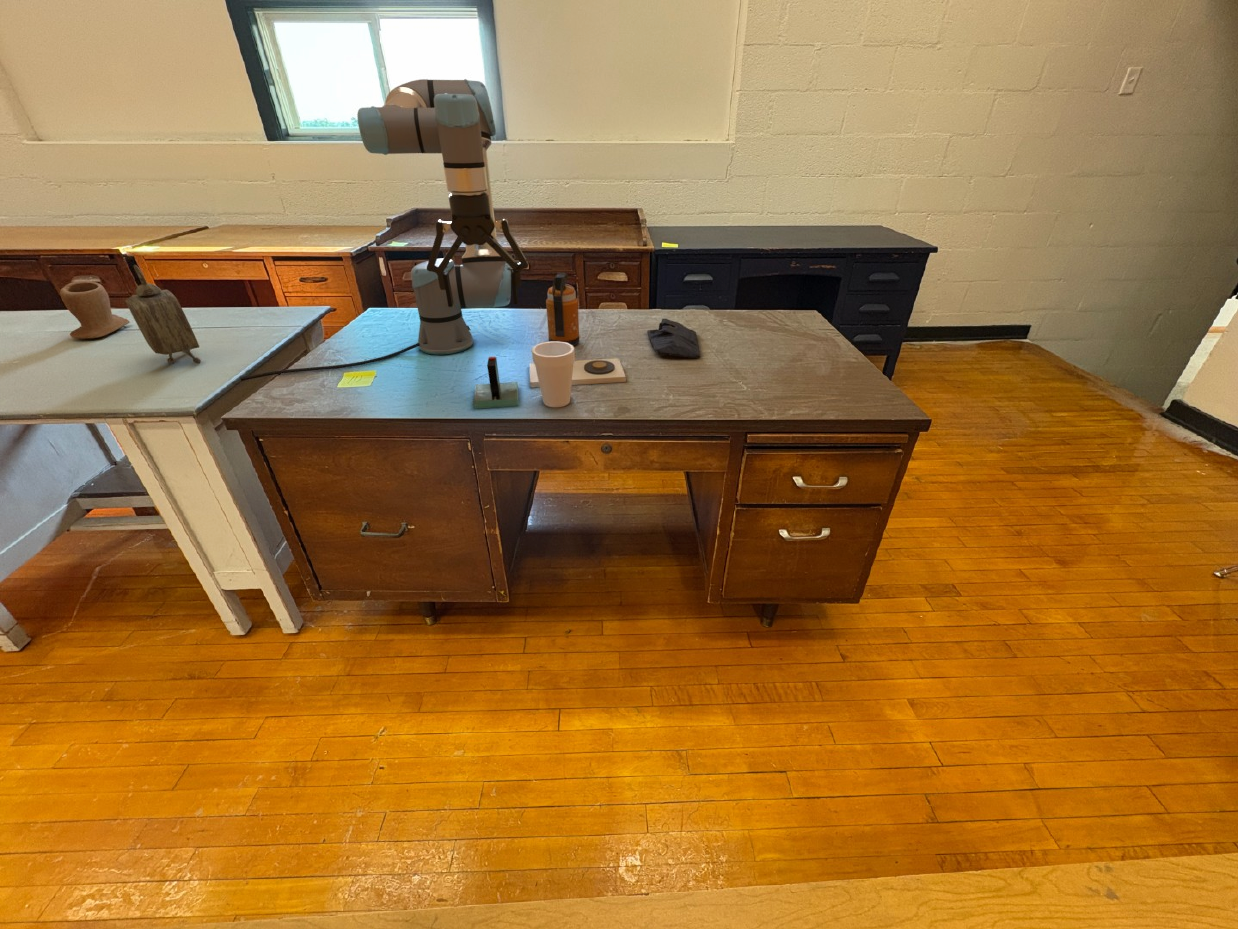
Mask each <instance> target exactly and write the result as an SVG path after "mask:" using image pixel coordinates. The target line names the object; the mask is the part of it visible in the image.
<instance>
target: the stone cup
mask: <svg viewBox="0 0 1238 929" xmlns="http://www.w3.org/2000/svg"><path fill="white" fill-rule="evenodd" d="M59 295H60V297H61V300H62V302H63V304H64V306H65V307H66V309H67V310H68V311H69V313H70V314H71V315H72V316H73V317H75V319H76V320H77V321H78V322H79V323H80V327H77V328H75V329H74V330H72V331H71V332H70V333H69V337H71V338H75V339H95V338H97V339H98V338H102V337H104V336H107V335H109V334H111V333H114V332H115V331H117V330H119V329H122V328H123V327H125V326H126V325H128V324H130V323H131V322H130V320H129V319H128V318H124V317H123V316H119V315H117V314H113V312H112V307H111V301H110V296H109V294H108V292H107V290H106V289H105V287H104V286H103V285H102V284H100V283H98V282H96V281H90V280H89V281H88V280H87V281H86V280H85V281H83V280H82V281H81V280H79V281H75V282H70V283H67V284H66V285H65V286H63V287H62V288H61V289H60V291H59ZM124 325H125V326H124Z"/></svg>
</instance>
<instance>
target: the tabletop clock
mask: <svg viewBox="0 0 1238 929" xmlns="http://www.w3.org/2000/svg"><path fill="white" fill-rule="evenodd" d="M133 270H134V272H135V273H136V275H137V277H138V279H139V282H140V284H139V285H138V286H136V289H135V294H132V295H131V296H129V297H128V298H126V300H125V304H126V306H127V308H128V310H129V312H130V313H131V316H132V317H133V319H134V321H135V323H136V325H137V327H138V329H139V331H140V333H141V334H142V336H143V338H144V340H145V342H146V344H147V345H148V346H149V347H150V349H151V350H152V351H153V352H154V353H155V354H156V355H157V354H158V355H164V356H168V358H167V359H166V360H167V362H168V363H169V364H175V363H176V359H175V358H174V357H173V354H177V353H184V354H186V355H187V356H189V357H190V358H192V362H193V363H194V364H200V363H201V362H202V361H201V358H199V357H197V356H196V357H195V355H193V354H192V353H191V350H194V349H198V348H200V344H199V342H198V339H197V338H196V335H195V333H194V331H193V328H192V326H191V324H190V322H189V320H188V318H187V316H186V313H185V312H184V309H183V308H182V306H181V304H180V302H179V300H178V299H177V297H176V296H175V295H174V294H173V293H172V292H171V291H170V290H168V289H161V288H160V287H158V286H157V285H156V284H154V283H148V282H147V280H146V278H145V276H144V274H143V271H142V270H141V268H140V267H139V265H137V264H134V265H133Z"/></svg>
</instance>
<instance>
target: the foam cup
mask: <svg viewBox="0 0 1238 929" xmlns="http://www.w3.org/2000/svg"><path fill="white" fill-rule="evenodd" d="M531 353H532V354H531V356H532V357H531V358H532V361H533V362H532V363H535V367H536V372H537V376H538V381H539V385H540V387H539V389H540V393H541V398H542V401H543V404H544V405H545V406H546V407H550V408H562V407H566V406H567V405H568V404H570V403H571V396H572V395H571V394H572V386H573V385H572V375H573V364H574V361H575V359H576V353H575V347H574V345H571V344H569V343H566V342H560V341H550V342H549V341H544V342H540V343H538V344H535V345H533V347H532V348H531Z"/></svg>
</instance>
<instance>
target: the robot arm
mask: <svg viewBox="0 0 1238 929" xmlns="http://www.w3.org/2000/svg"><path fill="white" fill-rule="evenodd" d="M488 93H489V92H488V90H487V87H486V85H485V83H483V82H481V81H479V80H468V79H466V78H465V79H428V78H427V79H426V78H425V79H423V78H422V79H415V80H410V81H408V82H406V83H402V84H400V85H397V86H396V87H394V88H393V89H391V90H390V91H389V92H388V94H387V95H386V97H385V103H384V105H382V106H380V107H379V106H373V105H372V106H370V107H369V106H367V107H360V108H359V109H358V110H357V114H356V115H357V116H356V117H357V124H358V130H359V133H360V138H361V141H362V144H363V146H364V148H365V149H366V151H367V152H368V153H370V154H378V155H385V156H386V155H397V154H398V155H399V154H402V155H403V154H404V155H405V154H441V155H442V164H443V171H444V172H443V173H444V178H445V183H446V190H447V191H448V192H450V194H448V204H449V209H450V215H451V221H444V220H442V219H438V220H437V222H436V223H435V231H436V232H435V233H436V234H435V238H434V241H433V245H432V248H431V251H430V254H429V257H428V260H427V261H423V262H421V263H418V264H416V265H415V266H413V267H412V269H411V271H410V277H411V287H412V289H413V294H414V297H415V303H416V307H417V313H418V316H419V321H420V322H419V328H418V338H417V343H415V344H412V345H410V346H407V347H405V348H403V349H401V350H398V351H396V352H392V353H390V354H386V355H384V356H380V357H375V358H372V359H367V360H361V361H356V362H351V363H344V364H334V365H325V366H311V367H303V368H289V369H280V370H279V369H278V370H272V371H266V372H260V373H256V374H251V375H246V376H241V377H239V379H240V381H241V382H242V381H243V382H244V381H248V380H253V379H259V378H262V377H263V378H264V377H268V376H274V375H282V374H290V373H291V374H292V373H301V372H302V373H303V372H314V371H325V370H336V369H337V370H338V369H344V368H345V369H346V368H351V367H359V366H363V365H368V364H372V363H377V362H380V361H384V360H387V359H390V358H394V357H396V356H398V355H401V354H404V353H406V352H408V351H410V350H413V349H415V348H417V347H418V349H419V350H420V351H421V352H422V353H425V354H428V355H433V356H434V355H435V356H444V355H452V354H458V353H462V352H463V351H467V350H468V349H470V348H471V347H472V346H473V345H474V340H473V335H472V333H471V332H472V331H471V328H470V326H469V325H467V323H466V321H465V318H464V316H463V312H462V310H467V309H468V310H470V309H471V310H472V309H485V308H487V309H488V308H493V309H494V308H497V307H498V308H499V307H506V306H508V305H509V304H510V303H511V296H512V299H513V304H514V305H519V299H518V290H517V288H521V287H522V277H521V276H522V275H521V271H523V270H524V269H528V267H529V261H528V259H527V258H526V256H525V254H524V252H523V250H522V249H521V248H520V245H519V244H518V242H517V240H516V239H515V237H514V235H513V234H512V232H511V230H510V226H509V221H508V218H506V217H505V218H502V219H500V220H496V219H495V213H494V202H493V193H492V187H491V186H492V185H491V178H490V168H489V160H488V159H489V158H488V149H489V148H490V147H491V145H492V137H495V136H496V134H497V130H496V129H497V128H496V124H495V120H494V115H493V109H492V105H491V101H490V96H489V94H488ZM449 229H451V231H452V232H453V233H454V234H455V235H456V238H455V240H454V242H452V245H451V246H450V248H449V249H448V251H447V253H446V254H445V256H444V257H443V258H438V257H439V253H440V250H441V246H442V243H443V239H444V236H445V234H447V233H448V231H449ZM497 229H498V231H499V232H500V233H503V236H504V238H505V239H506V241H507V243H508V244H509V247H510V248H511V250H512V251H513V253H514V255H515V257H516V259H517V260H518V261H516V259H514V257H513V256H512V255H511V254H510V253H509V252H508V251H507V249H505V248H504V246H503V245H502V244H500V242H498V238H497V237H498V235H497ZM462 244H464V246H465V252H464V254H463V255H461V264H455V261H454V260H453V258H454V256H455V254H456V253H457V251H458V250H459V248H460V247H461V245H462ZM511 292H512V293H511Z"/></svg>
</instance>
